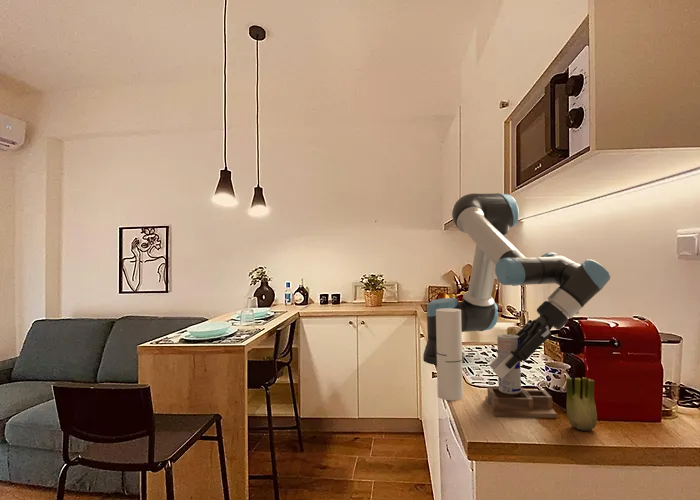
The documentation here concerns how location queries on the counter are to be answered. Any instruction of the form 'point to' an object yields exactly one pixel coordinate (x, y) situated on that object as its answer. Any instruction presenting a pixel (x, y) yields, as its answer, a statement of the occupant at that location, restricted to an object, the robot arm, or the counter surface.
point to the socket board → (520, 403)
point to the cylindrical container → (449, 354)
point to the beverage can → (513, 377)
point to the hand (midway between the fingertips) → (495, 371)
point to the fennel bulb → (581, 404)
